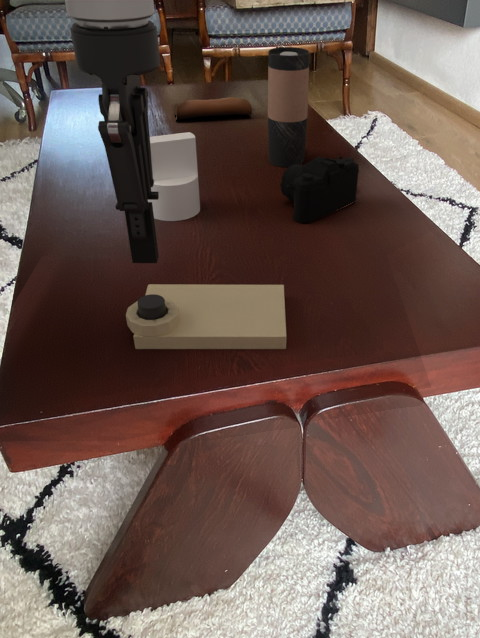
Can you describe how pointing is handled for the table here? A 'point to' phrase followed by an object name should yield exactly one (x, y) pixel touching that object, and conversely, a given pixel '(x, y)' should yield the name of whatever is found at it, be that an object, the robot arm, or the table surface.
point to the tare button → (151, 307)
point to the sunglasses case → (213, 107)
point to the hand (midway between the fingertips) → (145, 259)
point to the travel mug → (287, 105)
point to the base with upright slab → (175, 176)
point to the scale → (213, 318)
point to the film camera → (320, 187)
